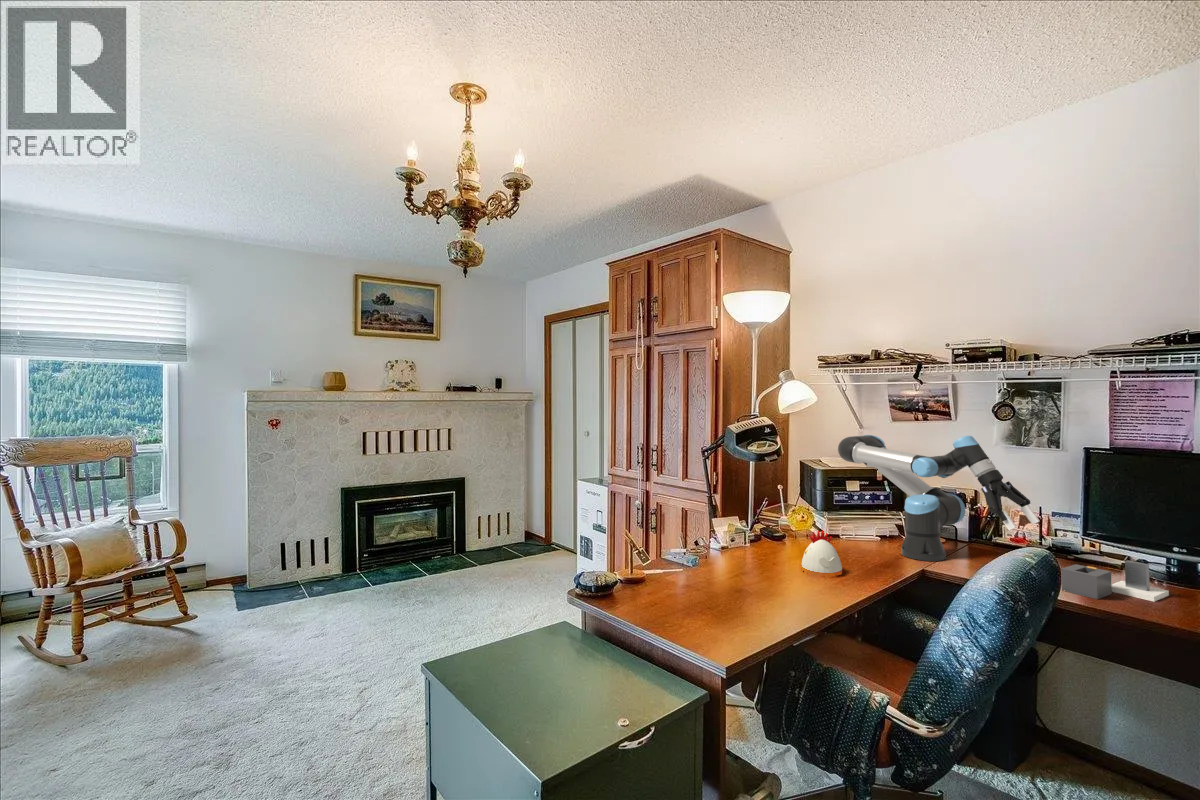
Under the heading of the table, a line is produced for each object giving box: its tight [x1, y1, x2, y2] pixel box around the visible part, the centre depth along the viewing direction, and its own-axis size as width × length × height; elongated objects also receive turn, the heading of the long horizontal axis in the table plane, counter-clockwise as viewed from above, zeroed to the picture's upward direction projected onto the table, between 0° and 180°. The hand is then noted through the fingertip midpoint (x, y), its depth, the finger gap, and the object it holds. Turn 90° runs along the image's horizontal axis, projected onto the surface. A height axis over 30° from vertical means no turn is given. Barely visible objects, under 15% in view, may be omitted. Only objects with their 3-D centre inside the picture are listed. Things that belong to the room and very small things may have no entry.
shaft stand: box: [1111, 560, 1170, 603], centre depth 171 cm, size 11×10×10 cm
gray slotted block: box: [1061, 563, 1113, 600], centre depth 173 cm, size 9×9×7 cm
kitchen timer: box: [801, 530, 843, 573], centre depth 200 cm, size 14×14×15 cm
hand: (1024, 525), depth 195 cm, fingers open, 13 cm apart
